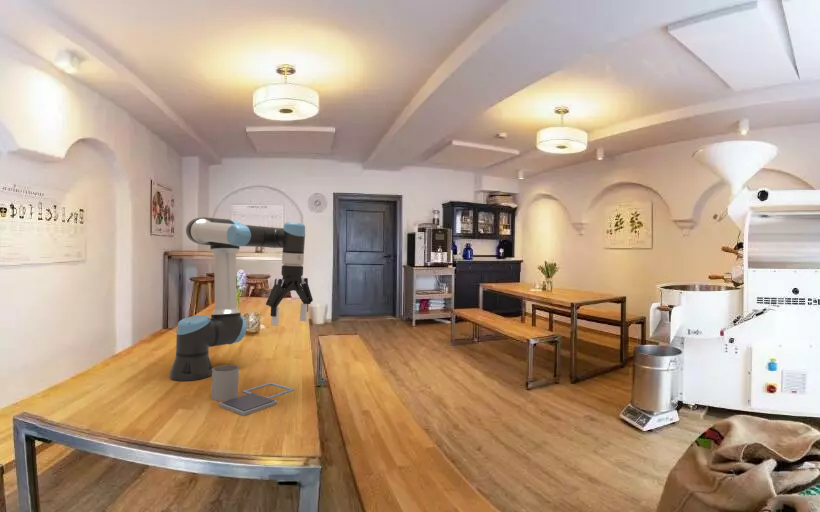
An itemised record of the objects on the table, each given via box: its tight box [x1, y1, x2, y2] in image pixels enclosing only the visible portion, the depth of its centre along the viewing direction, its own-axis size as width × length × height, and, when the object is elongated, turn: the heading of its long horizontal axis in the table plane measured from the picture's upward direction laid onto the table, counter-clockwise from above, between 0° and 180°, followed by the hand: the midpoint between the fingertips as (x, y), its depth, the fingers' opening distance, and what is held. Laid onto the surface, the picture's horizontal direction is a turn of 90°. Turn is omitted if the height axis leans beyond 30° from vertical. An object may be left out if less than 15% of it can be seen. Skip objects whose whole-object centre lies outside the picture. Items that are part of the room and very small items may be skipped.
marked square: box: [241, 382, 295, 399], centre depth 149 cm, size 13×13×1 cm
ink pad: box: [218, 392, 278, 417], centre depth 135 cm, size 13×13×1 cm
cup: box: [210, 364, 240, 402], centre depth 142 cm, size 8×8×10 cm
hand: (289, 323), depth 148 cm, fingers open, 13 cm apart
